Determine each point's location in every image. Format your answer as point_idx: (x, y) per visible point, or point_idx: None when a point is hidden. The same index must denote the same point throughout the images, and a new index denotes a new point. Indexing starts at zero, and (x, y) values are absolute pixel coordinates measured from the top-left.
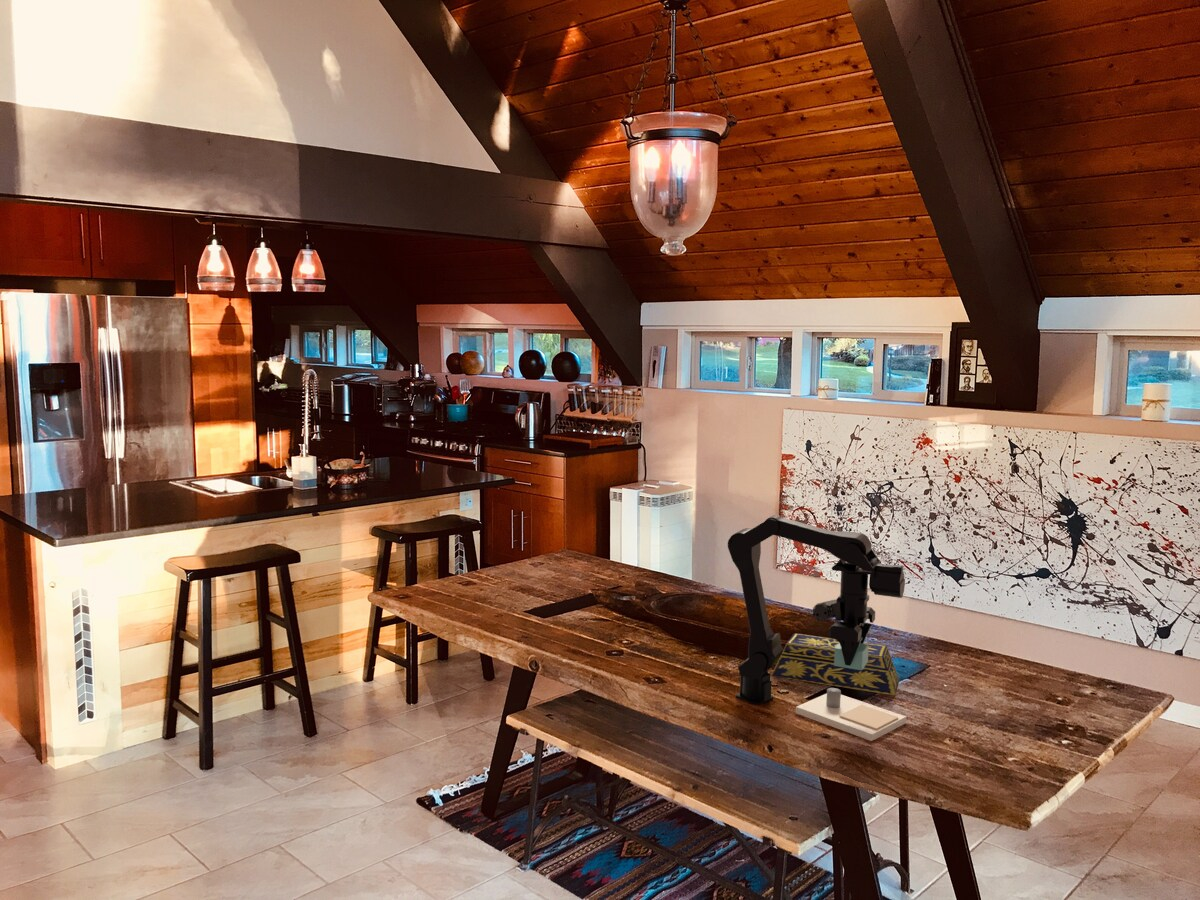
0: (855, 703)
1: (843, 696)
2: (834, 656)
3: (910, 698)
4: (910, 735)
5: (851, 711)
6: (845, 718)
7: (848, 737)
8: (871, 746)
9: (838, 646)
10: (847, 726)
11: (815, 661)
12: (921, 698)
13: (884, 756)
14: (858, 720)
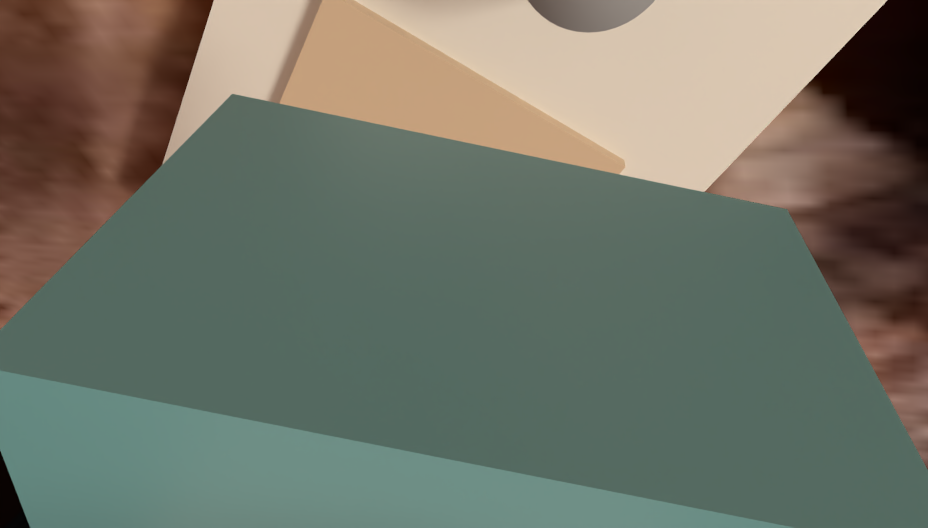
0: (677, 115)
1: (845, 10)
2: (132, 196)
3: (924, 407)
4: None
5: (452, 89)
6: (306, 40)
7: (137, 48)
8: (98, 182)
9: (215, 463)
10: (197, 54)
11: None
12: (923, 450)
13: (20, 238)
14: None
